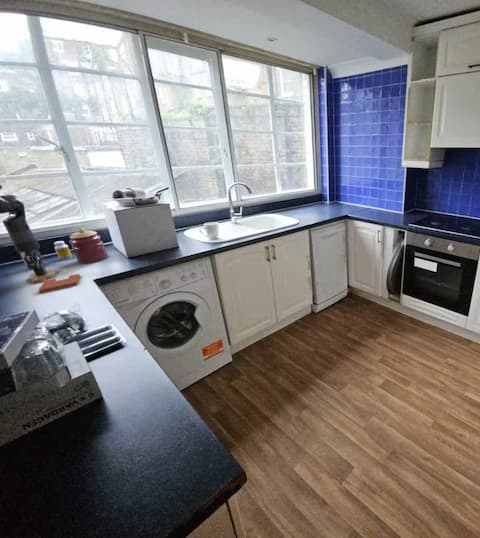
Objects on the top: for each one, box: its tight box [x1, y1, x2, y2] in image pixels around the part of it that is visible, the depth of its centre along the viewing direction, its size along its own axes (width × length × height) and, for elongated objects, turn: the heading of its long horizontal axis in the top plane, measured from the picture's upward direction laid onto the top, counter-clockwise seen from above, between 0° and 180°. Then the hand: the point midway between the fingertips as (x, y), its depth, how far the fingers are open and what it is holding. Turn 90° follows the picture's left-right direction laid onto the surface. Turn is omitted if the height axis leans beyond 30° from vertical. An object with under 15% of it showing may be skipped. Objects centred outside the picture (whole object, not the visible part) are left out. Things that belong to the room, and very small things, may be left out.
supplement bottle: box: [53, 240, 74, 261], centre depth 164 cm, size 5×5×10 cm
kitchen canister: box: [68, 227, 108, 264], centre depth 160 cm, size 13×13×18 cm
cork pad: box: [26, 263, 58, 284], centre depth 140 cm, size 9×12×6 cm
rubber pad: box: [38, 273, 81, 294], centre depth 133 cm, size 12×12×2 cm
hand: (41, 272), depth 142 cm, fingers open, 6 cm apart
